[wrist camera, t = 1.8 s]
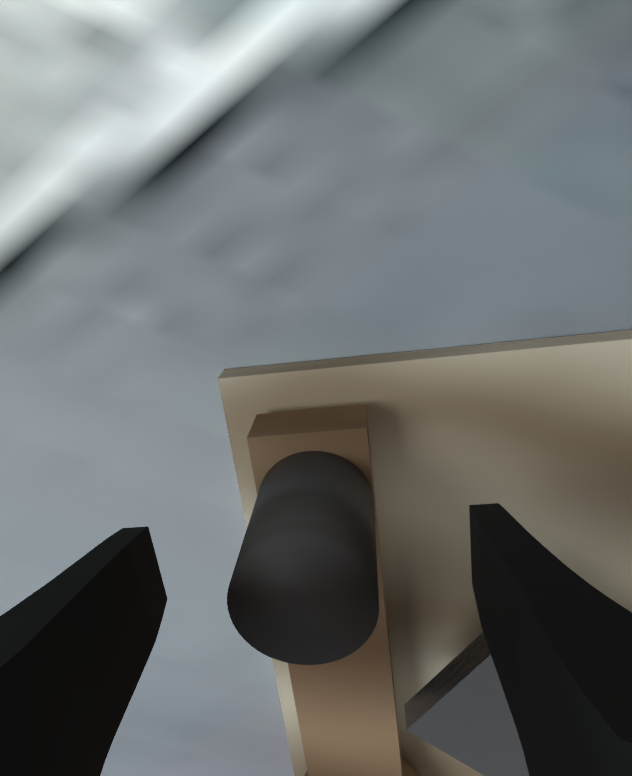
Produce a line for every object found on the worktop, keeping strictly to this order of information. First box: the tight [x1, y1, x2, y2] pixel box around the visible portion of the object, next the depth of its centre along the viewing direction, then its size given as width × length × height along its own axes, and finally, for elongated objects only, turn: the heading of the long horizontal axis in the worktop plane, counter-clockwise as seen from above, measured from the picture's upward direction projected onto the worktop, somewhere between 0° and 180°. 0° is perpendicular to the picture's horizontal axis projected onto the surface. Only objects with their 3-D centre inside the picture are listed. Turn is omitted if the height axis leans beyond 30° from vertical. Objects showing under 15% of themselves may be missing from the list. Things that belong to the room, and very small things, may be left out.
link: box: [227, 405, 419, 776], centre depth 16 cm, size 17×4×5 cm, turn 7°
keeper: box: [404, 632, 529, 776], centre depth 17 cm, size 6×4×4 cm
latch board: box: [218, 330, 632, 776], centre depth 19 cm, size 19×14×1 cm
